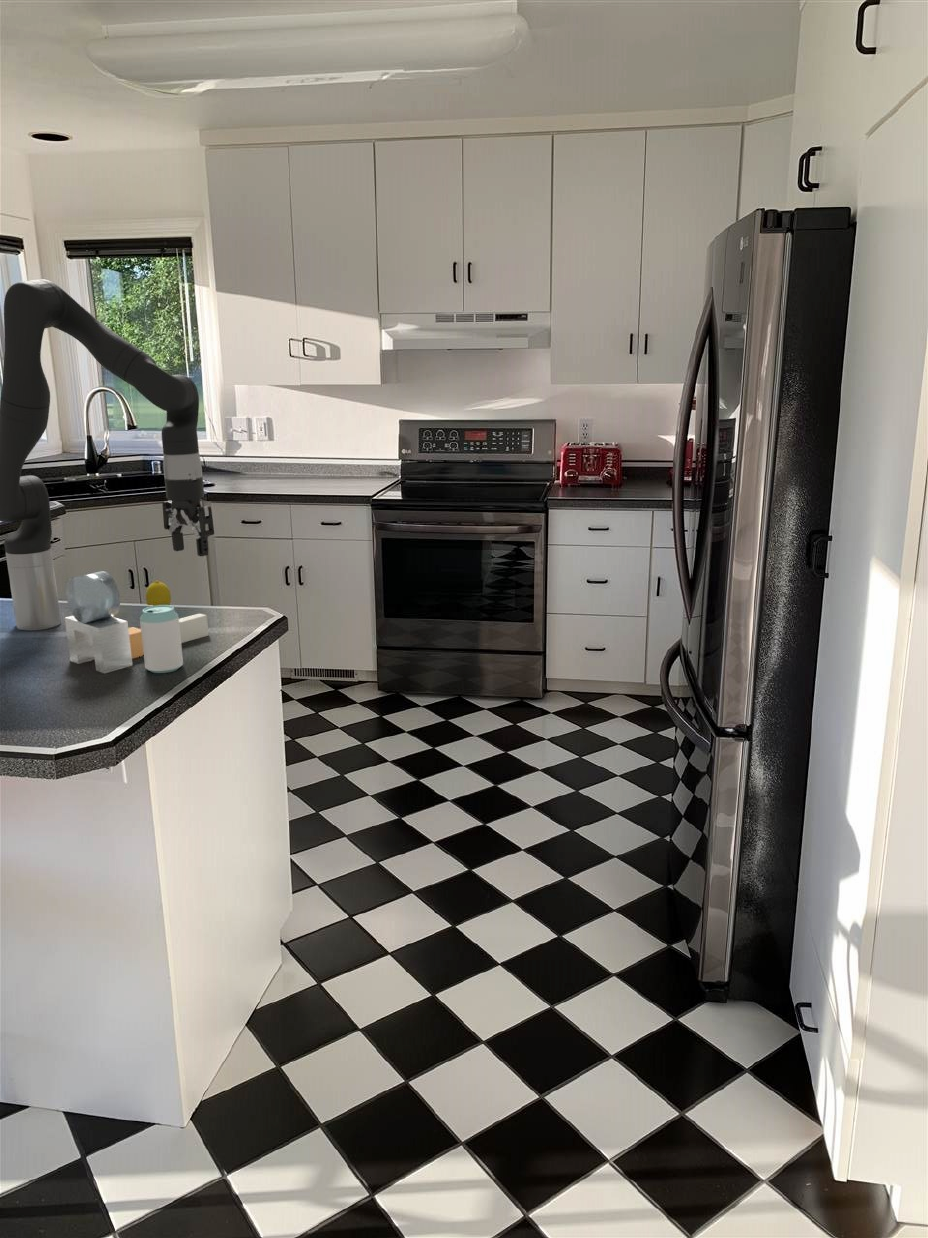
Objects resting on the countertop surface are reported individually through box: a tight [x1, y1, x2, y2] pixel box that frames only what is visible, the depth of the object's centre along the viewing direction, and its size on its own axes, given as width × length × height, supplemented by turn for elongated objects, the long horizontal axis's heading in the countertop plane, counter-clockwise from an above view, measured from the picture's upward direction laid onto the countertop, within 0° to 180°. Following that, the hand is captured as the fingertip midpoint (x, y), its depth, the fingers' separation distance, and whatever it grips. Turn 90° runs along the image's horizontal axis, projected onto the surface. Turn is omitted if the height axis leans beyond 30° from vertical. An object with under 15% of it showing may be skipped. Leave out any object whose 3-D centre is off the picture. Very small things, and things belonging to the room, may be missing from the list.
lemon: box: [145, 580, 172, 607], centre depth 224 cm, size 6×6×8 cm
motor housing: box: [64, 570, 133, 674], centre depth 188 cm, size 12×6×18 cm, turn 50°
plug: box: [128, 613, 209, 660], centre depth 201 cm, size 4×20×5 cm, turn 141°
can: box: [139, 605, 184, 674], centre depth 185 cm, size 7×7×12 cm
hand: (190, 553), depth 202 cm, fingers open, 8 cm apart
